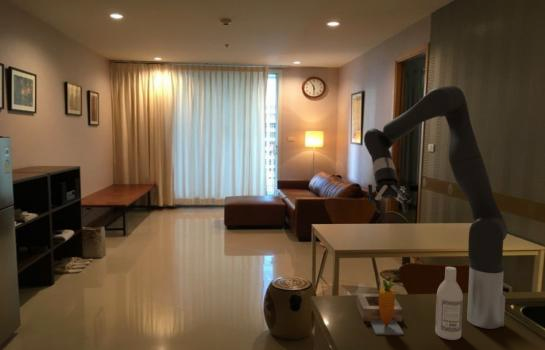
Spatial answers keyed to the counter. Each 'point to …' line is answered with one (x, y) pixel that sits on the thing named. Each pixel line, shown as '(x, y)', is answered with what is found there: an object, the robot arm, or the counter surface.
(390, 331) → the plate
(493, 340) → the counter surface
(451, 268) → the bath foam
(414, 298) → the counter surface
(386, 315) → the carrot
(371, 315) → the holder
